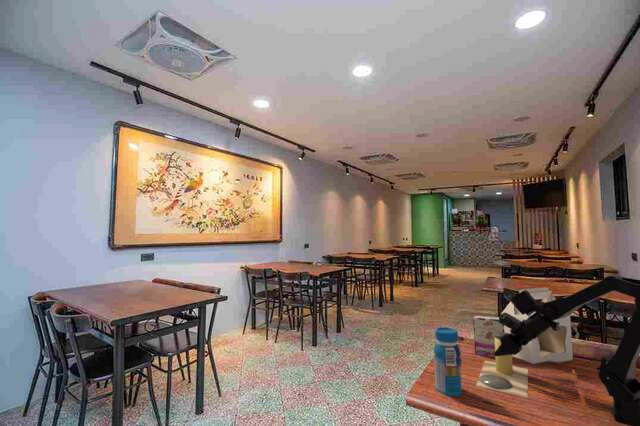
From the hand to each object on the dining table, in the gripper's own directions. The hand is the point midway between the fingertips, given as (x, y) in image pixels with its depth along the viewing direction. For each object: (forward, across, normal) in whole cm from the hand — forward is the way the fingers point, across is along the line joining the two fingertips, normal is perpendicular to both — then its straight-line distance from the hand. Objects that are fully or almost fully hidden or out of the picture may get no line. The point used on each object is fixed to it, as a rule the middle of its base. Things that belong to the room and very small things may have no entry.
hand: (499, 351), depth 114 cm
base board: (+4, +5, +8) cm, 10 cm away
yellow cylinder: (+4, 0, +6) cm, 7 cm away
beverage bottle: (+11, +26, +1) cm, 29 cm away
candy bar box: (+11, -13, +1) cm, 18 cm away
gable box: (+2, -28, +10) cm, 29 cm away
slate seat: (+4, +11, +6) cm, 13 cm away
